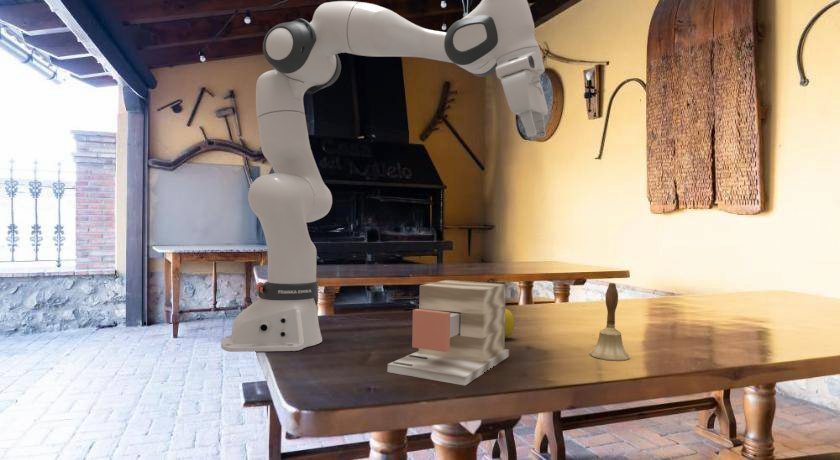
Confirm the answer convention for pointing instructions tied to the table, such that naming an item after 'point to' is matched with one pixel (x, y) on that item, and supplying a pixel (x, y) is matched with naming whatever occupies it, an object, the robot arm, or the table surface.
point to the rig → (461, 332)
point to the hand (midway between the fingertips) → (537, 136)
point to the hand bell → (610, 332)
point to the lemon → (508, 322)
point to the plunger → (434, 329)
